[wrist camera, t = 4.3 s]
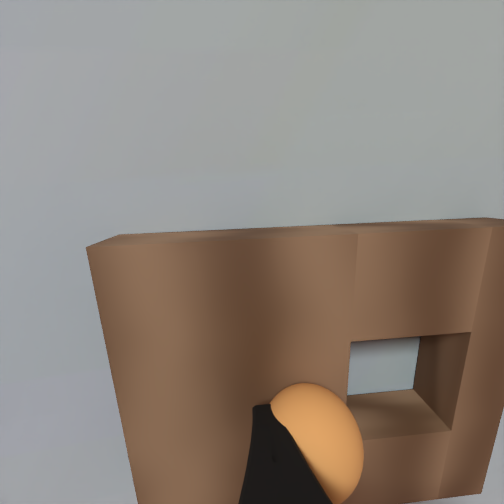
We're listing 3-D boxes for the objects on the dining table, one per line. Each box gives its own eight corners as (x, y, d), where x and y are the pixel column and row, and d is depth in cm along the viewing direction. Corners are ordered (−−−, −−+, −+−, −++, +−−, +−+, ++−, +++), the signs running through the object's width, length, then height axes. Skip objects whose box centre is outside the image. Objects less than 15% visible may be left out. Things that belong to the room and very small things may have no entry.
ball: (249, 528, 7) (383, 558, 6) (256, 391, 8) (373, 404, 7) (264, 462, 10) (353, 477, 10) (268, 371, 11) (349, 379, 11)
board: (159, 477, 14) (144, 536, 12) (119, 234, 11) (86, 247, 8) (441, 445, 15) (481, 493, 13) (485, 217, 12) (551, 224, 9)
